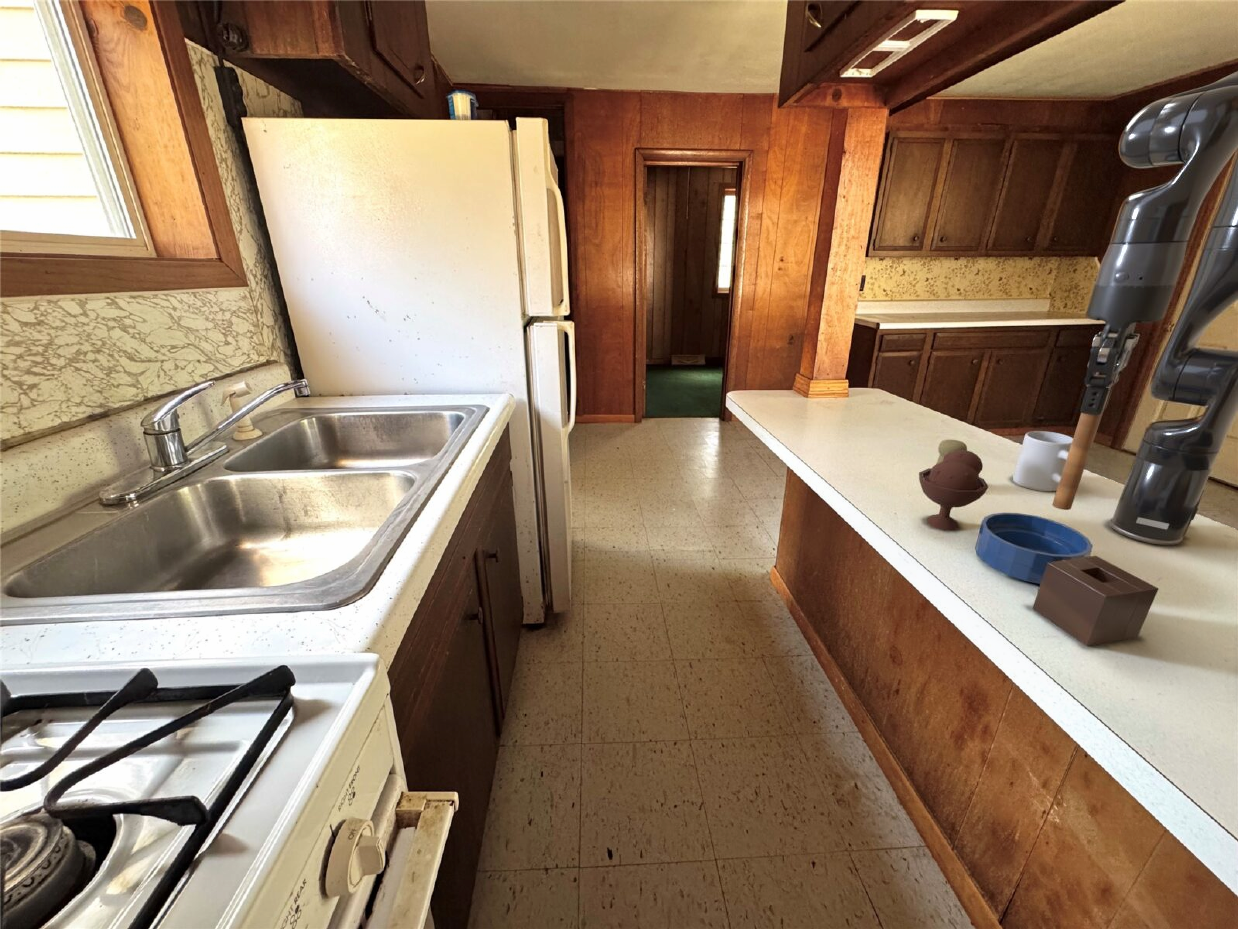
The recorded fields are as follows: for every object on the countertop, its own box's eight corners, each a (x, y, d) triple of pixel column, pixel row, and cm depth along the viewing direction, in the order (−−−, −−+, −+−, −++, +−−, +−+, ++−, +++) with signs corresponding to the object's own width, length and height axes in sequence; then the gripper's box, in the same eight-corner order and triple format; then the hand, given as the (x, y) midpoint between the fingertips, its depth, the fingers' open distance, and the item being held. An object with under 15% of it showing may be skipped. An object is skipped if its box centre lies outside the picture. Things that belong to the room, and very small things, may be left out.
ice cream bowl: (915, 505, 106) (930, 437, 100) (980, 521, 99) (999, 448, 93) (903, 526, 98) (918, 454, 93) (972, 544, 92) (992, 467, 86)
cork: (930, 491, 112) (940, 444, 107) (925, 480, 117) (935, 435, 113) (962, 495, 110) (974, 447, 105) (956, 484, 115) (967, 438, 111)
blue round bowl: (1024, 538, 93) (1032, 508, 91) (1104, 583, 80) (1117, 550, 78) (954, 547, 91) (961, 517, 89) (1025, 595, 78) (1036, 561, 76)
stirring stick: (1060, 502, 78) (1102, 374, 71) (1074, 509, 76) (1119, 377, 69) (1048, 504, 78) (1088, 375, 71) (1062, 510, 76) (1105, 378, 69)
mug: (1003, 476, 118) (1015, 431, 113) (1040, 475, 117) (1054, 430, 113) (1043, 499, 106) (1058, 450, 102) (1084, 498, 106) (1101, 449, 102)
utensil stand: (1078, 601, 76) (1095, 555, 73) (1137, 637, 69) (1159, 588, 66) (1032, 608, 75) (1047, 562, 72) (1086, 646, 68) (1106, 596, 65)
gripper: (1168, 285, 58) (1118, 429, 65) (1183, 277, 66) (1137, 406, 73) (1083, 284, 64) (1045, 417, 70) (1106, 277, 72) (1070, 397, 78)
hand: (1092, 411), depth 72 cm, fingers closed on stirring stick, 2 cm apart
